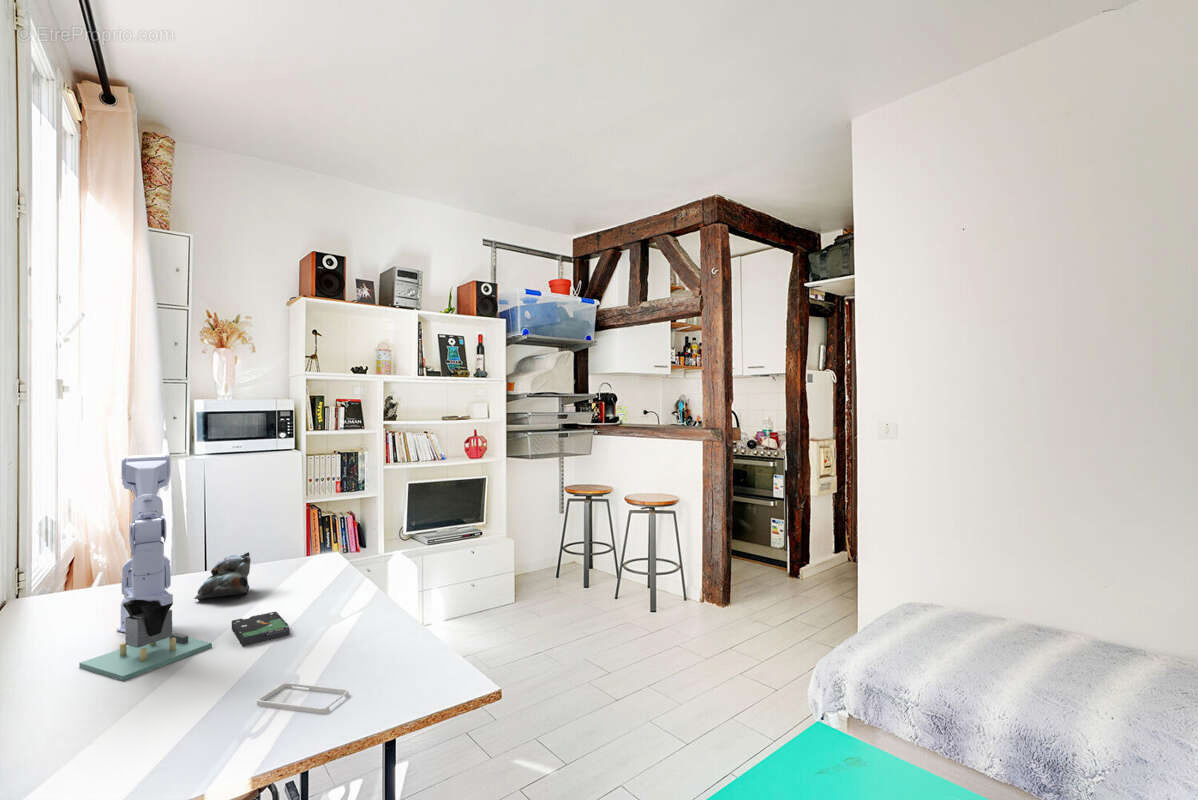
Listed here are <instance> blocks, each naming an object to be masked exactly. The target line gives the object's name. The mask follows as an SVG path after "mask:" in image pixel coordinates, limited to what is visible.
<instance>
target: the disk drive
mask: <svg viewBox="0 0 1198 800" xmlns="http://www.w3.org/2000/svg"><path fill="white" fill-rule="evenodd" d="M231 631H232V632H233V634H234V636H235V637H236V639H237V640H238V642H239V644H240V645H241V647H242V648H243V647H247V646H251V645H252V646H253V645H256V644H260V643H261V644H262V643H263V642H264V643H265V642H269V641H272V640H277V639H281V638H285V637H289V636H290V635H291V634H290V633H291V632H290V631H291V629H290V626H289V624H288V623H287V622H286V621H285V619H284V618H283V617H282V616H281V615H280V614H279V612H277V611H270V612H267V613H261V614H257V615H252V616H250V617H249V618H245V619H244V618H237V619H233V620H231Z"/></svg>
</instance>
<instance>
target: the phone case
mask: <svg viewBox="0 0 1198 800" xmlns="http://www.w3.org/2000/svg"><path fill="white" fill-rule="evenodd" d="M293 687H297V688H298V687H299V688H305V689H308V690H309V691H311V692H321V693H329V694H330V693H331V694H336V695H337V694H339V695H340V696H338V697H337V698H336V699H334V701H332V702H331V703H329V704H328V705H327V706H325V707H318V706H309V705H302V704H293V703H285V702H277V701H270V700H269V701H268V700H267V699H269V698H270V697H272V696H274V695H276V693H278V692H280V691H281V690H283V689H292V688H293ZM349 692H350V691H349V690H348V689H343V688H337V687H336V688H335V687H334V688H333V687H326V686H324V687H323V686H318V685H317V686H316V685H309V684H300V683H299V684H298V683H290V682H285V683H281V684H279V685H277V687H275V688H273V689H272V690H271V691H269V692H267V693H265V694H264V695H261V696H260V697H259V698H258V699H256V705H257V706H258V707H259V706H260V707H263V708H264V707H265V708H267V707H268V708H273V709H274V708H275V709H282V710H290V711H298V712H307V713H314V714H315V713H316V714H326V713H327V712H329V711H330V707H332V706H333V705H334V704H336V703H337V702H338V701H340V700H341V699H342V698H347V697H349V694H350V693H349Z"/></svg>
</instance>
